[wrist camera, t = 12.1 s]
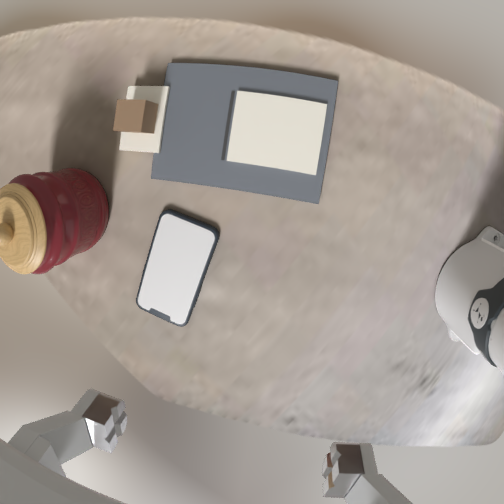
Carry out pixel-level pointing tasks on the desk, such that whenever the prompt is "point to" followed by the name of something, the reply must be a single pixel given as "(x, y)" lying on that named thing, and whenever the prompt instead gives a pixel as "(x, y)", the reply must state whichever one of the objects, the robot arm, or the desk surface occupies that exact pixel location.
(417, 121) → the desk surface
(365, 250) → the desk surface
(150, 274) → the smartphone
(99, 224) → the canister
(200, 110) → the board
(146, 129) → the tan cube with base
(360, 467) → the robot arm
